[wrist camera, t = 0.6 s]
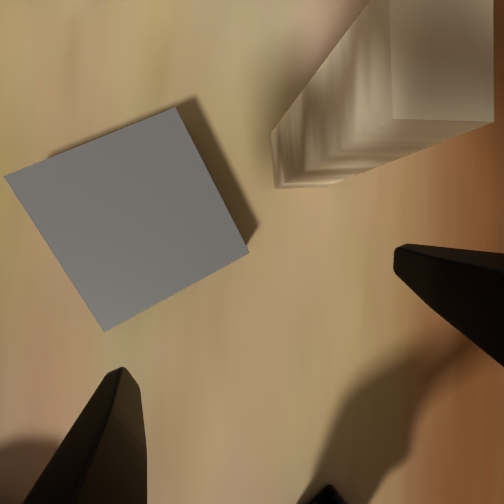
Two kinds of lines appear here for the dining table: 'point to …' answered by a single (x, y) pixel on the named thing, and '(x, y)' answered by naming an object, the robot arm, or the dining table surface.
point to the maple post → (389, 91)
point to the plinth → (130, 216)
